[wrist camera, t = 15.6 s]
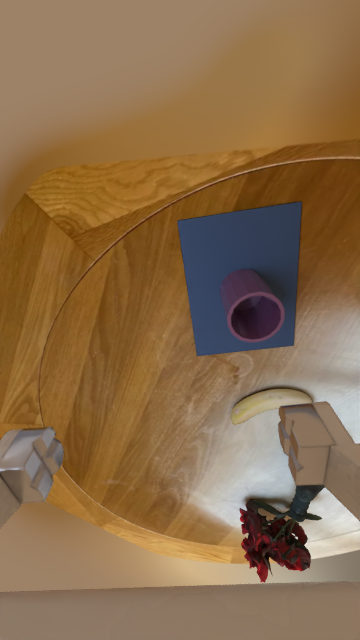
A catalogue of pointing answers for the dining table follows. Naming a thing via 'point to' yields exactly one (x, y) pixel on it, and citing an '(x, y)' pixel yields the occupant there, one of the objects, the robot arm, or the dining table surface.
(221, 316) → the rectangular board
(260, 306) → the cup
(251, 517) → the vase with red roses
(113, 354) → the dining table surface
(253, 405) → the fruit
